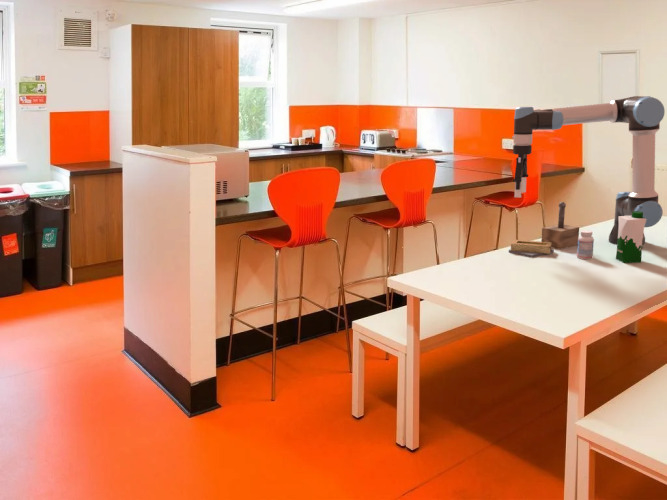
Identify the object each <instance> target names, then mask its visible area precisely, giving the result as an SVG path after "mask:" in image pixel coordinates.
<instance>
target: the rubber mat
mask: <svg viewBox="0 0 667 500" xmlns="http://www.w3.org/2000/svg"><path fill="white" fill-rule="evenodd" d="M554 252H555V251H554V248H552V249H551V251H550V253H537V252H524V251H511V249H508V253H510V254H513V255H514V254H515V255H519V256H522V257H527V258H532V259H533V258H535V257H539V256H543V255H548V254H552V253H554Z"/></svg>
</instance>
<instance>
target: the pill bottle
mask: <svg viewBox="0 0 667 500" xmlns="http://www.w3.org/2000/svg"><path fill="white" fill-rule="evenodd" d="M594 241H595V239H594V237H593V231H592V230H587V229H585V230H584V229H583V230H580V232H579V238H578V245H577V251H576V257H577V259H582V260H590V259H592V258H593V254H594Z"/></svg>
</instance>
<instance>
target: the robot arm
mask: <svg viewBox="0 0 667 500" xmlns="http://www.w3.org/2000/svg"><path fill="white" fill-rule="evenodd" d="M664 116H665V107H664V104H663V102H661V100H659V99H658V98H656V97H653V96H651V95H650V96H643V95H641V96H639V95H634V96H630V97H629V96H628V97H625V98H619V99H613V100H610V101H609V102H607V103H596V104H585V105H578V106H577V105H576V106H575V105H574V106H566V107H556V108H548V109H547V108H546V109H535V110H534V107H533V106H517V107H516V108H515V109H514V118H513V119H514V120H513V121H514V122H513V124H514V125H513V135H512V137H511V138H512V139H513V144H514V145H513V147H512V154H514V155H517V157H516V159H515V170H514V179H512V182H513V183H514V196H513V198H522V193H526V192H527V178H529V174H528V155H532V150H533V149H532V148H533V145H532V144H533V130H534V131H536V130H538V131H540V130H541V131H542V130H543V131H545V130H547V131H550V130H552V131H555V130H561V129H562V127H563V126H569V125H579V124H590V123H599V122H600V123H602V122H609V121H610V123H612V124H616V123H624V124H628V132H630V133H631V135H632V156H631V157H632V168H631V169H632V172H631V173H632V174H631V175H632V177H631V178H632V179H631V180H632V181H631V182H632V183H631V185H632V189H631V191H619V192H617V193H616V198H615V210H614V222H613V226H612V229H611V230H610V233H609V234H608V235H609V236H608V242H609V243H611V244H615V245H617V241H618V229H619V219H618V216H632V212H633V211H639V212H643V218H645V219H646V223H645V226H644V228H650V227H653V226H655V225H657V224H658V223H659V222H660V221H661V219H662V217H663V207H662V205H661V204H660V203H659V193H658V192H657V191H656V190H655V183H656V182H655V180H656V178H655V176H656V175H655V174H656V173H655V171H656V169H655V168H656V167H655V166H656V163H655V162H656V133H658V131H659V130H660V128H661V127H660V125H661V124H660V123H661V121H663V120H664ZM645 244H646V235H645V232H644V233H643V243H642V246H643V245H645Z"/></svg>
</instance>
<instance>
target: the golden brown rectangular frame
mask: <svg viewBox="0 0 667 500" xmlns="http://www.w3.org/2000/svg"><path fill="white" fill-rule="evenodd" d="M551 249H553V248H552V242H541V241H538V240H537V241H536V240H523V239H513V240H512V242H511V243H510V250H511V251H524V252H537V253H548V254H551V253H550V251H551Z"/></svg>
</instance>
